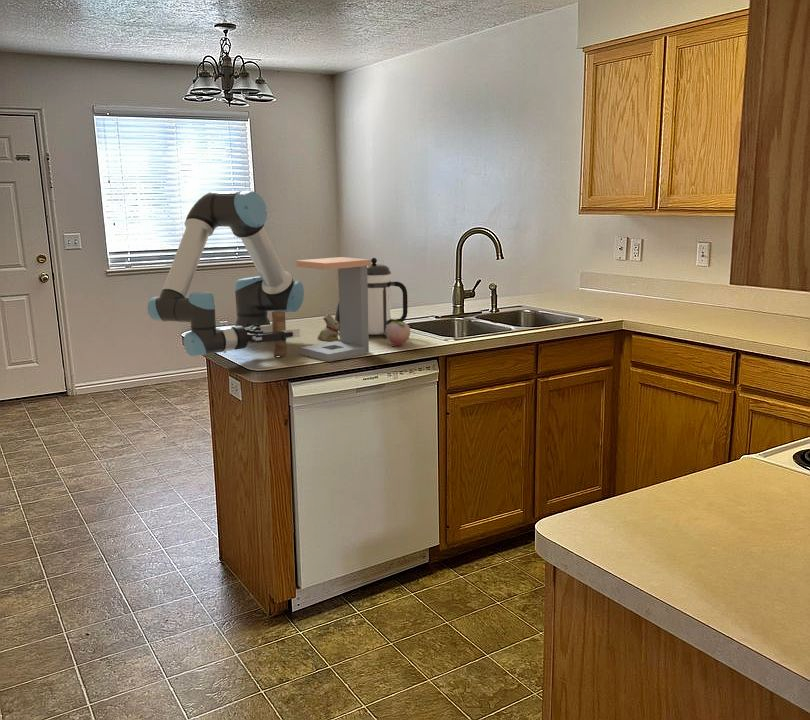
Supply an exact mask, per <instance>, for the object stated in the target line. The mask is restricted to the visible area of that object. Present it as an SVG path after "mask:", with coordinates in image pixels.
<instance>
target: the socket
mask: <svg viewBox="0 0 810 720" xmlns="http://www.w3.org/2000/svg"><path fill="white" fill-rule="evenodd" d="M295 263H296V265H295V266H296V267H297V268H305V269H315V270H325V271H328V270H337V274H338V276H337V277H338V302H339V317H340V332H339V341H338V340H332V341H329V342H322V343H317V344H311V345H307V346H299V355H300V354H301V355H300V356H304V355H305V357H308V356H309V358H313V359H316V360H320V361H324V362H333V361H338V360H339V361H340V360H343V359H349V358H355V357H359V356H365V355H367V354H368V353H370V349H369V348H370V347H369V343H370V340H369V338H370V337H369V335H370V334H368V281H367V266H371V264H372V262H371V259H367V258H357V257H356V258H355V257H344V256H338V257H327V258H312V259H299V260H298V259H297V260H296V261H295Z"/></svg>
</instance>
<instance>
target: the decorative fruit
mask: <svg viewBox="0 0 810 720" xmlns="http://www.w3.org/2000/svg"><path fill="white" fill-rule="evenodd" d="M396 319H397V321H391V322H390V324H388V325H387V327H386V329H385V333H386V336H387V338H386V339H388V340H389V342H390V343H391V344H393V345H395V346H396V347H398V346H399V347H400V346H401V345H404V344H405V343H406V342H407V341H408V339H409V338H410V336H411V327H410V326H409V324H408V323H406V322H405V321H403V322H399V321H398V319H399V318H396Z"/></svg>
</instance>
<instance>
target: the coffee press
mask: <svg viewBox="0 0 810 720" xmlns="http://www.w3.org/2000/svg"><path fill="white" fill-rule="evenodd" d="M370 260H371V266H367V281H368V335H375V336H376V335H381V336H382V337H383V339H388V338H387V336H386V333H385V329H386V327H387V325H388V324H390V322H391V321H397V318H392V317H391V286H392V287H398V288H400V290H401V292H402V315H401V317H399V318H398V321H399V322H405V320H406V319H407V316H408V304H409V303H408V302H409V301H408V291H407V287H406V286H405V285H404V284H403V283H402V282H400V281H391V274H392V270H390V267H389V266H387V265H385V264H378V263H377V262H378V260H377V258H376V257H372V258H371V259H370Z"/></svg>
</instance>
